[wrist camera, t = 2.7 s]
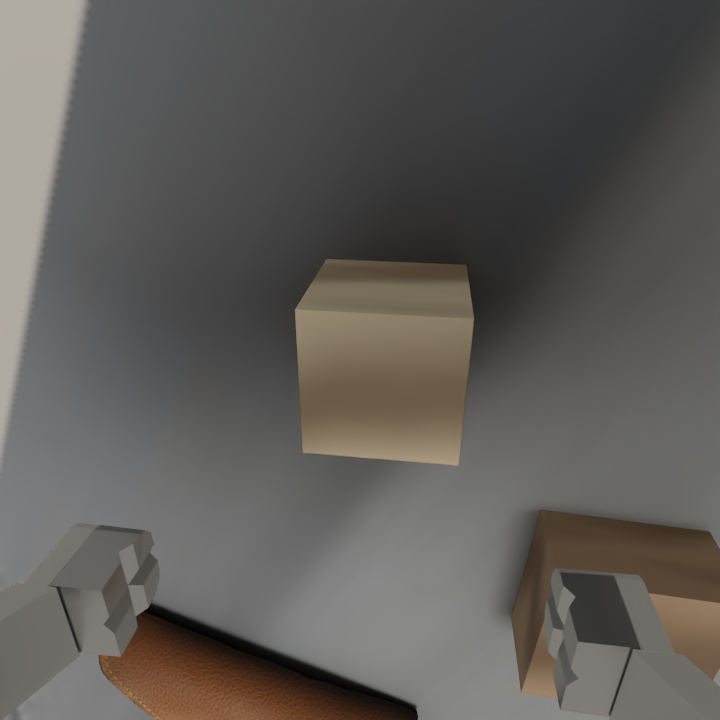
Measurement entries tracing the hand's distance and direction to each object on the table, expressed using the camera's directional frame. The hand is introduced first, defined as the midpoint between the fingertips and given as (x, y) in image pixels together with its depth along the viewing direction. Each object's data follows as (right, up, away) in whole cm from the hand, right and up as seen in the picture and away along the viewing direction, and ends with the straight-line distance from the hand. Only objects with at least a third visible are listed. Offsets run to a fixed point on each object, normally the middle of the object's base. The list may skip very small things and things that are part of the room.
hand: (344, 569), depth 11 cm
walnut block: (+11, -6, +14) cm, 19 cm away
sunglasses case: (-6, -15, +22) cm, 27 cm away
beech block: (+2, +6, +10) cm, 11 cm away
